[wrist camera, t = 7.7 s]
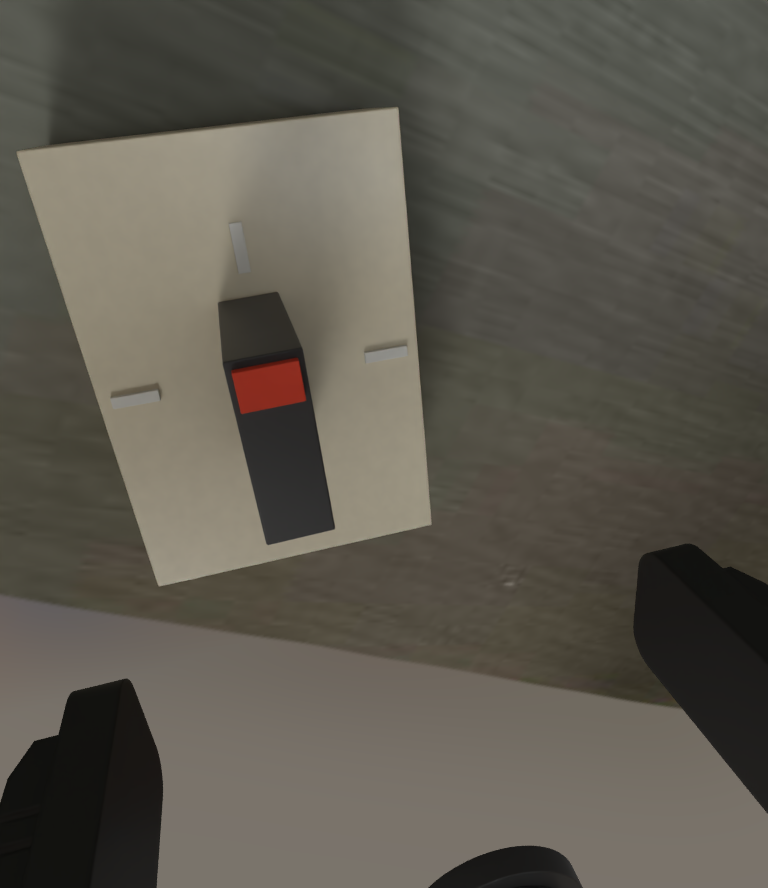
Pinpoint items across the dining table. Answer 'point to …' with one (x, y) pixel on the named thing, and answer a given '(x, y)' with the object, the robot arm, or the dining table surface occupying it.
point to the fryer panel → (232, 277)
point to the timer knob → (275, 417)
